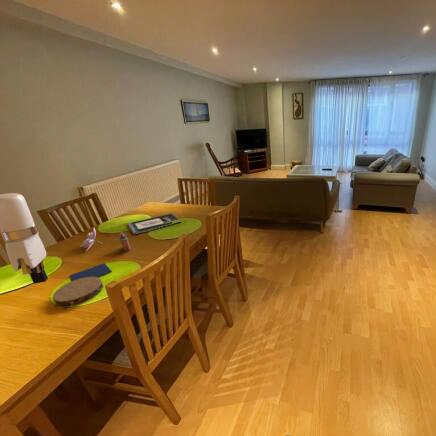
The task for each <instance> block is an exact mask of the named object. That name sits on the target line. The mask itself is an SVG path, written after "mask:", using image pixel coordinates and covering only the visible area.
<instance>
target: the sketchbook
mask: <svg viewBox="0 0 436 436" xmlns="http://www.w3.org/2000/svg"><path fill="white" fill-rule="evenodd" d="M178 219H179V218H178V217H176V216H175V215H174V214H173V213H167V214H164V215H159V216H154V217H149V218H146V219H145V218H144V219H140V220H135V221H132V222H128V223H127V224H126V225H127V227H128V228H129V229H130V231H131V232H132V234H133V235H139V234H142V233H147V232H150V231H155V230H159V229H162V228H164V227H163V226H166V227H168V226H167V225H170V224H172V221H174V220H178ZM170 226H171V225H170ZM160 227H162V228H160ZM166 227H165V228H166ZM157 228H158V229H157ZM154 229H155V230H154Z"/></svg>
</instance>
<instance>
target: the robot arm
mask: <svg viewBox="0 0 436 436" xmlns="http://www.w3.org/2000/svg"><path fill="white" fill-rule="evenodd" d="M0 234H1V237H2V239H3V241H4V242H5V243H4V246H5V250H6V253H7V257H8V261H9V262H10V263H9V264H10V265H11V268H12V270H13V271H14V272H18V271H20V270H21V272H22V275H29V276H30V278H31V281H32V283H33V284H40V283H45V282H47V280H48V279H49V276H48V275H47V272H46V271H45V270H46V269H45V265H44V262H43V261H44V260H45V258H46V257H47V251H46V247H45V245H44V243H43V241H42V239H41V238H40V236H39V231H38V228H37V226H36V223H35V220H34V218H33V216H32V213H31V211H30V208H29V206H28V204H27V201H26V199H25V197H24V196H23V195H22V194H21V193H16V192H13V193H11V192H9V193H0Z"/></svg>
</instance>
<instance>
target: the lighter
mask: <svg viewBox="0 0 436 436" xmlns="http://www.w3.org/2000/svg"><path fill="white" fill-rule="evenodd" d="M119 234H120V235H119V240H120V244H121V246H122V250H123V251H124V252H125V253H128V252H131V251H132V248H131V246H130V242H129V238H128V236H127V235H126V234H125V233H124V232H123V231H122V232H120V233H119Z"/></svg>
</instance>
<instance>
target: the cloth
mask: <svg viewBox="0 0 436 436" xmlns="http://www.w3.org/2000/svg"><path fill="white" fill-rule="evenodd" d="M112 272H113V271H112V270H111V269H110V267H109V266H108V265H107V264H106V263H105V262H102V263H100V264H98V265H95V266H92V267H89V268H86V269H84V270H80V271H78V272H75V273H72V274H70V275H69V277H70V278H71V282H72V281H74V280H77V279H80V278H85V277H98V278H100V277H104V276H105V275H108V274H111V273H112Z"/></svg>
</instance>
